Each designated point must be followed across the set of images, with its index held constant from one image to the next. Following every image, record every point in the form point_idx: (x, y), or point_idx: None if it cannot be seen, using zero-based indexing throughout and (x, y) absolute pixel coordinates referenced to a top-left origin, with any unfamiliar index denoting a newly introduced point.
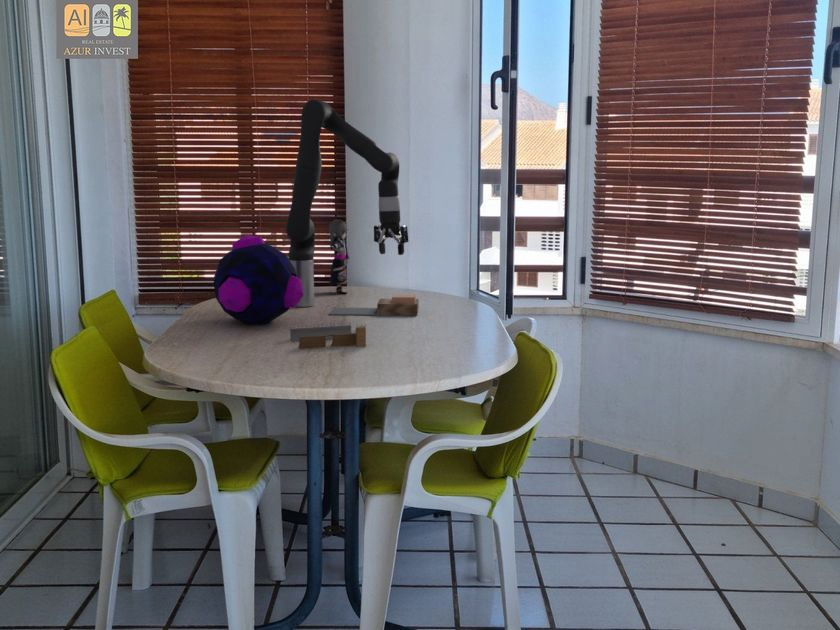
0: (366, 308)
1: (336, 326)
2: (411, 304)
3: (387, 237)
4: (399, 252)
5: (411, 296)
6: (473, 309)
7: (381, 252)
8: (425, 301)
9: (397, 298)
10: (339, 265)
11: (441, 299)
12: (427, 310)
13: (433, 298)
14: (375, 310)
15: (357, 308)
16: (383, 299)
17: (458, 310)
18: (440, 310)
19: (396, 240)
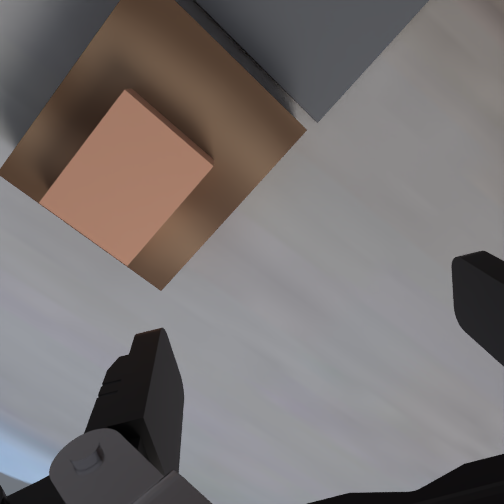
0: (343, 57)
1: None
2: (15, 148)
3: (467, 470)
4: (132, 346)
5: (82, 210)
6: (49, 442)
7: (464, 261)
8: (329, 409)
9: (105, 118)
10: None
11: (323, 475)
12: (133, 290)
13: (362, 466)
14: (258, 56)
15: (378, 12)
16: (267, 125)
17: (59, 388)
18: (100, 333)
19: (147, 477)
